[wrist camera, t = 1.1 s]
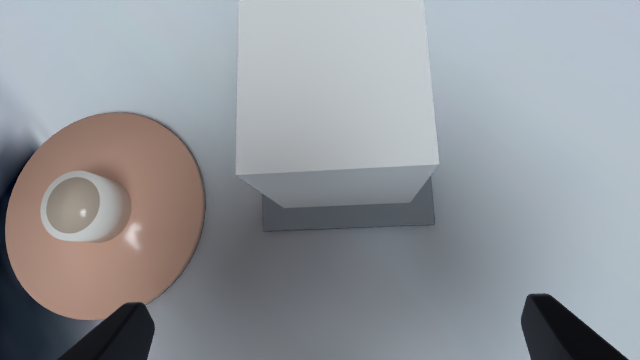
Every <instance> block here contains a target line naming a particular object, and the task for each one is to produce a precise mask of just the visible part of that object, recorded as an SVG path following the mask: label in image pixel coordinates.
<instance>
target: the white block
mask: <svg viewBox="0 0 640 360" xmlns="http://www.w3.org/2000/svg"><path fill="white" fill-rule="evenodd" d="M438 165H439V155H438V145H437V134H436V124H435V113H434V103H433V92H432V82H431V72H430V61H429V51H428V40H427V30H426V19H425V9H424V0H239V15H238V68H237V122H236V176H238V177H239V178H240V179H242V180H243V181H245V182H246V183H248V184H249V185H251V186H252V187H254V188H255V189H257V190H258V191H260V192H261V193H262V194H264V195H265V196H267V197H268V198H270V199H271V200H273V201H274V202H276V203H277V204H279V205H280V206H282V207H283V208H299V207H322V206H345V205H368V204H391V203H410V202H411V201H412V199H413V198H414V197H415V195H416V194H417V193H418V192H419V190H420V189H421V188H422V186H423V185H424V184H425V182H426V181H427V180H428V179H429V177H430V176H431V175H432V173H433V172H434V171H435V169H436V168H437V167H438Z"/></svg>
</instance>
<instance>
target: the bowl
mask: <svg viewBox="0 0 640 360" xmlns="http://www.w3.org/2000/svg"><path fill="white" fill-rule="evenodd" d="M131 208H132V205H131V199H130V196H129V193H128V192H127V190H126V189H125V187H124V186H123V185H121V184H120V183H118V182H116V181H114V180H111V179H108V178H105V177H101V176H98V175H95V174H92V173H89V172H86V171H71V172H68V173H65V174H63V175H61V176H60V177H58V178H57V179H56V180H54V181H53V182H52V183H51V185H50V186H49V187H48V189H47V190H46V192H45V194H44V196H43V199H42V202H41V209H40V213H41V220H42V223H43V225H44V227H45V229H46V230H47V231H48V233H49V234H51V235H52V236H53V237H55V238H57V239H60V240H64V241H77V242H90V243H102V242H106V241H109V240H111V239H113V238H115V237H116V236H117V235H119V234H120V233H121V232H122V231H123V229H124V228H125V227H126V225H127V223H128V221H129V218H130V215H131Z"/></svg>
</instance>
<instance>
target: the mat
mask: <svg viewBox="0 0 640 360" xmlns="http://www.w3.org/2000/svg"><path fill="white" fill-rule="evenodd" d="M420 225H435V218H434V207H433V196H432V185H431V176H430V177H429V179H428V180H427V181H426V182H425V184H424V185H423V186H422V188H421V189H420V190H419V192H418V193H417V194H416V195H415V197H414V198H413V199H412V201H411V202H410V203H391V204H368V205H345V206H322V207H299V208H283V207H282V206H280V205H279V204H277V203H276V202H274V201H273V200H271V199H270V198H268V197H267V196H265V195H264V194H263V231H287V230H314V229H340V228H367V227H394V226H420Z"/></svg>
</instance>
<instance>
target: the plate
mask: <svg viewBox="0 0 640 360" xmlns="http://www.w3.org/2000/svg"><path fill="white" fill-rule="evenodd" d="M71 171H86V172H89V173H92V174H95V175H98V176H101V177H105V178H108V179H111V180H114V181H116V182H118V183H120V184H121V185H123V186H124V187H125V189H126V190H127V192H128V193H129V196H130V199H131V205H132V208H131V215H130V218H129V221H128V223H127V225H126V227H125V228H124V229H123V231H122V232H121V233H120V234H119V235H117V236H116V237H115V238H113V239H111V240H109V241H106V242H102V243H90V242H77V241H64V240H60V239H57V238H55V237H53V236H52V235H51V234H49V233H48V231H47V230H46V229H45V227H44V225H43V223H42V220H41V213H40V209H41V202H42V199H43V196H44V194H45V192H46V190H47V189H48V187H49V186H50V185H51V183H52V182H53V181H54V180H56V179H57V178H58V177H60V176H61V175H63V174H65V173H68V172H71ZM204 216H205V191H204V185H203V180H202V177H201V173H200V170H199V167H198V165H197V163H196V161H195V159H194V157H193V155H192V154H191V152H190V151H189V149H188V148H187V147H186V145H185V144H184V143H183V142H182V141H181V140H180V139H179V138H178V137H177V136H176V135H175V134H173V133H172V132H171V131H170V130H168V129H167V128H165V127H164V126H162V125H160V124H159V123H157V122H155V121H153V120H151V119H148V118H146V117H143V116H139V115H136V114H129V113H104V114H98V115H94V116H90V117H86V118H84V119H81V120H79V121H76V122H74V123H72V124H70V125H68V126H67V127H65V128H63V129H61V130H60V131H59V132H57V133H56V134H54V135H53V136H52V137H51V138H49V139H48V140H47V141H46V142H45V143H44V144H43V145H42V146H41V147H40V148H39V149H38V150H37V151H36V152H35V153H34V154H33V156H32V157H31V158H30V160H29V161H28V162H27V164H26V165H25V167H24V169H23V170H22V172H21V174H20V175H19V177H18V179H17V182H16V184H15V186H14V188H13V191H12V194H11V197H10V200H9V205H8V209H7V214H6V225H5V234H6V245H7V252H8V256H9V259H10V262H11V266H12V268H13V270H14V272H15V275H16V277H17V278H18V280H19V282H20V283H21V285H22V286H23V288H24V289H25V290H26V291H27V292H28V293H29V295H30V296H31V297H32V298H33V299H35V300H36V301H37V302H38V303H39V304H41V305H42V306H44V307H45V308H47V309H49V310H50V311H52V312H54V313H57V314H59V315H62V316H65V317H69V318H74V319H80V320H99V319H106V318H107V317H108V316H110V315H111V314H112V313H113V312H114V311H116V310H117V309H118V308H119V307H120V306H122V305H123V304H125V303H127V302H142V303H144V304H145V305H147V304H149V303H150V302H152V301H153V300H154V299H156V298H157V297H159V296H160V295H161V294H163V293H164V292H165V291H166V290H167V289H168V288H169V287H170V286H171V285H172V284H173V283H174V282H175V281H176V279H177V278H178V277H179V276H180V275H181V274H182V272H183V271H184V269H185V268H186V266H187V264H188V263H189V261H190V259H191V257H192V255H193V254H194V252H195V250H196V247H197V244H198V242H199V239H200V236H201V232H202V228H203V223H204Z"/></svg>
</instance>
